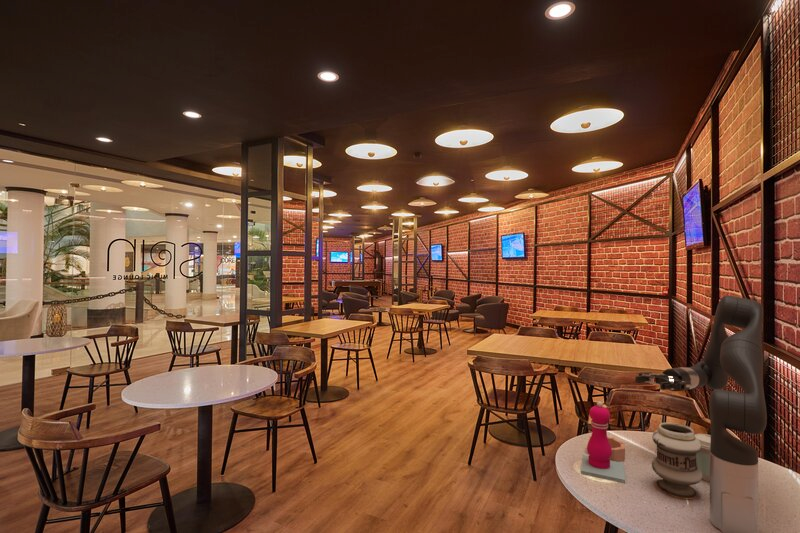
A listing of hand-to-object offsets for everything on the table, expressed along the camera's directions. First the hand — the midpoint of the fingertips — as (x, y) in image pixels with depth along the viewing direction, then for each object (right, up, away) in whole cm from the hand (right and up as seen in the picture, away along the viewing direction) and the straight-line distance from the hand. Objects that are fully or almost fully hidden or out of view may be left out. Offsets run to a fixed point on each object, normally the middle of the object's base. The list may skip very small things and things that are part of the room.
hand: (648, 383), depth 135 cm
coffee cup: (+13, -27, -9) cm, 31 cm away
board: (-17, -26, -5) cm, 32 cm away
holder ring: (-11, -26, +6) cm, 29 cm away
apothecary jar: (-2, -26, -16) cm, 31 cm away
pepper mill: (-18, -25, -3) cm, 31 cm away
